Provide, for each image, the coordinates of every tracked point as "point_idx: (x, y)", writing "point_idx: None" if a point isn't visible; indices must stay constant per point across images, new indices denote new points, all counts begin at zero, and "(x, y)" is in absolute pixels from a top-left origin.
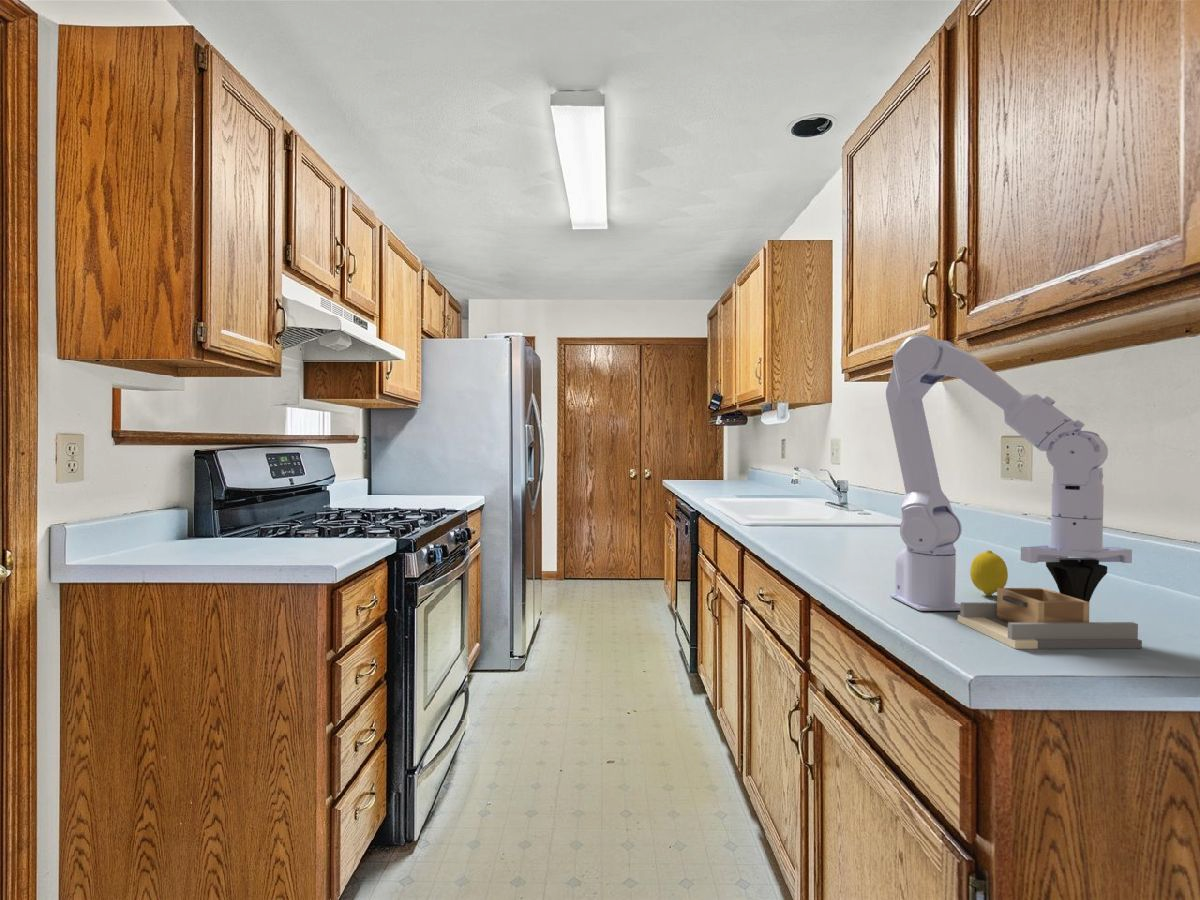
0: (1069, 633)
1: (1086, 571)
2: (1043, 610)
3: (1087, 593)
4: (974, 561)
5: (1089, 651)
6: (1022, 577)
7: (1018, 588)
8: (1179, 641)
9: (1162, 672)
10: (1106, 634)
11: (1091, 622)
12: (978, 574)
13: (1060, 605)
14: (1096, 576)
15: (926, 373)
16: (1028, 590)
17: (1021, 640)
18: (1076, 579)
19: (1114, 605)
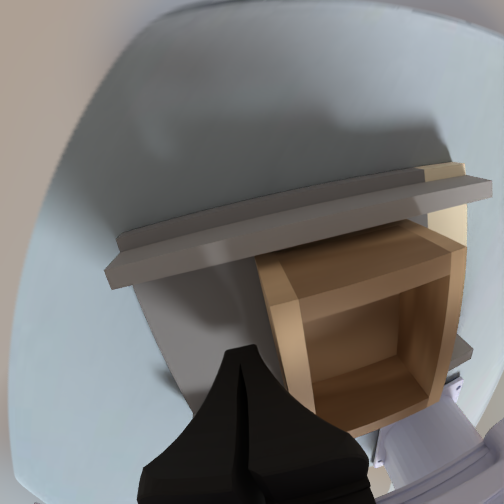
0: (343, 203)
1: (275, 460)
2: (434, 243)
3: (229, 394)
4: None
5: (292, 165)
6: None
7: (388, 421)
8: (29, 312)
9: (196, 27)
10: (217, 230)
11: (262, 251)
12: None
13: (392, 264)
14: (199, 452)
15: None
16: (363, 423)
17: (452, 169)
18: (310, 420)
19: (88, 475)
